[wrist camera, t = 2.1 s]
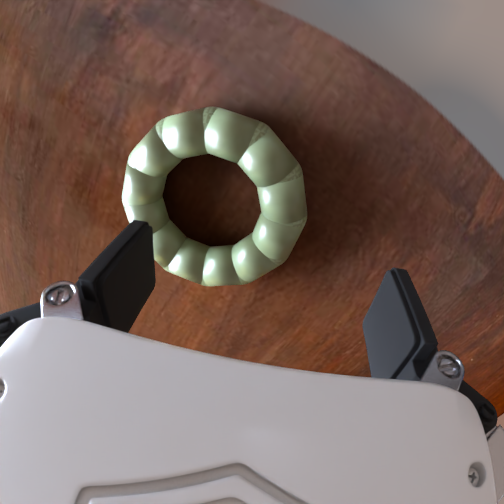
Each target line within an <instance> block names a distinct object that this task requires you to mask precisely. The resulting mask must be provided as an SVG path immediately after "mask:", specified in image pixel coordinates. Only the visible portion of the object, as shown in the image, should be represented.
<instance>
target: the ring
mask: <svg viewBox="0 0 504 504" xmlns="http://www.w3.org/2000/svg"><path fill="white" fill-rule="evenodd" d="M204 154H212V155H215V156H218V157H220V158H223V159H226V160H229V161H232V162H234V163H237V164H238V165H239V166H240V167H241V168H242V170H243V171H244V172H245V173H246V174H247V175H248V177H249V178H250V179H251V180H252V181H253V182H254V184H255V185H256V186H257V190H258V196H259V201H260V207H261V214H260V216H259V219H258V221H257V224H256V226H255V228H254V231H253V232H252V233H251V234H250V235H248V236H247V237H245V238H244V239H242V240H241V241H239V242H238V243H236V244H235V245H225V246H213V247H210V246H208V245H205V244H203V243H200V242H197V241H195V240H192V239H190V238H187V237H186V236H185V235H184V234H183V233H182V232H181V231H180V230H179V229H178V227H177V226H176V225H175V224H174V223H173V222H172V221H171V220H170V219H169V216H168V213H167V210H166V206H165V203H164V200H163V196H162V195H163V191H164V186H165V182H166V178H167V174H168V173H169V172H170V171H171V170H172V169H173V168H174V167H175V166H176V165H177V164H178V163H179V162H180V161H181V160H182V159H183V158H188V157H193V156H198V155H204ZM122 202H123V206H124V209H125V212H126V215H127V218H128V220H129V223H131V222H132V221H133V220H140V221H146V222H148V223H149V226H152V228H153V248H154V259H155V260H156V261H157V262H158V263H159V264H160V265H161V266H162V267H163V268H164V269H165V270H166V271H168V272H170V273H173V274H175V275H178V276H180V277H183V278H185V279H188V280H190V281H193V282H195V283H198V284H201V285H204V286H223V285H242V284H248V283H251V282H252V281H254V280H256V279H258V278H259V277H261V276H263V275H264V274H266V273H268V272H269V271H271V270H273V269H274V268H276V267H278V266H279V265H281V264H282V263H284V262H285V261H286V260H287V258H288V257H289V255H290V253H291V251H292V249H293V247H294V245H295V243H296V241H297V239H298V237H299V235H300V234H301V232H302V230H303V228H304V226H305V223H306V221H307V205H306V196H305V188H304V180H303V173H302V169H301V166H300V164H299V163H298V161H297V160H296V159H295V158H294V156H293V155H292V154H291V153H290V151H289V150H288V149H287V148H286V146H285V145H284V144H283V143H282V142H281V140H280V139H279V138H278V137H277V136H276V134H275V133H274V132H273V131H272V130H271V128H270V127H269V126H267V125H266V124H265V123H263V122H260V121H258V120H255V119H252V118H249V117H247V116H244V115H241V114H238V113H235V112H232V111H229V110H226V109H223V108H219V107H212V106H211V107H205V108H200V109H196V110H192V111H188V112H184V113H180V114H176V115H172V116H169V117H166V118H164V119H162V120H160V121H159V122H158V123H157V124H156V125H155V126H154V127H153V128H152V129H151V130H150V131H149V133H148V134H147V135H146V136H145V137H144V138H143V139H142V140H141V141H140V143H139V144H138V145H137V146H136V147H135V148H134V149H133V151H132V152H131V154H130V155H129V158H128V162H127V167H126V173H125V179H124V186H123V192H122Z"/></svg>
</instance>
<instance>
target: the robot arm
mask: <svg viewBox="0 0 504 504" xmlns="http://www.w3.org/2000/svg"><path fill="white" fill-rule="evenodd" d="M154 287H155V265H154V248H153V228H152V226H149V223H148V222H146V221H140V220H133V221H132V222H131V223H130V224H129V225H128V226H127V227H126V228H125V229H124V230H123V231H122V232H121V233H120V234H119V235H118V236H117V237H116V238H115V239H114V240H113V241H112V242H111V243H110V244H109V245H108V246H107V247H106V248H105V249H104V251H103V252H102V253H101V254H100V255H99V256H98V257H97V258H96V259H95V260H94V261H93V262H92V263H91V265H90V266H89V267H88V268H87V269H86V270H85V271H84V272H83V273H82V275H81V276H80V277H79V280H78V281H77V282H76V284H74V283H72V282H70V281H58V282H55V283H53V284H51V285H49V286H48V287H47V288H46V289H45V290H44V291H43V293H42V295H41V302H39V303H36V304H32V305H29V306H26V307H23V308H19V309H16V310H13V311H9V312H6V313H3V314H1V315H0V504H498V502H499V501H500V500H501V499H502V497H503V496H504V429H503V428H502V427H501V425H499V426H498V427H497V426H496V423H497V413H496V410H495V408H494V406H493V405H492V404H491V403H490V402H489V401H488V400H487V399H485V398H484V397H483V396H482V395H481V394H479V393H478V392H477V391H476V390H475V389H473V388H472V387H471V386H470V385H468V384H467V383H466V382H465V381H463V377H464V372H465V371H464V366H463V364H462V362H461V361H460V359H459V358H458V357H457V356H456V355H455V354H453V353H451V352H449V351H446V350H440V351H438V350H437V347H436V346H437V345H438V342H437V339H436V337H435V334H434V332H433V329H432V327H431V324H430V322H429V319H428V317H427V314H426V312H425V310H424V307H423V305H422V303H421V300H420V298H419V296H418V294H417V291H416V289H415V287H414V285H413V283H412V281H411V278H410V276H409V274H408V272H407V271H406V270H404V269H399V268H392V269H391V270H388V271H387V272H386V274H385V276H384V278H383V280H382V283H381V285H380V287H379V289H378V291H377V293H376V296H375V298H374V300H373V302H372V304H371V306H370V308H369V310H368V312H367V314H366V316H365V318H364V321H363V331H364V336H365V342H366V347H367V353H368V359H369V365H370V371H371V378H370V377H359V376H348V375H338V374H329V373H320V372H312V371H305V370H298V369H291V368H284V367H278V366H271V365H265V364H260V363H254V362H248V361H243V360H238V359H233V358H228V357H223V356H218V355H213V354H209V353H204V352H200V351H195V350H191V349H187V348H182V347H178V346H174V345H170V344H166V343H162V342H159V341H155V340H151V339H148V338H144V337H140V336H137V335H133V334H129V333H128V332H129V330H130V328H131V327H132V325H133V323H134V321H135V320H136V318H137V316H138V314H139V313H140V311H141V309H142V308H143V306H144V304H145V302H146V301H147V299H148V297H149V296H150V294H151V292H152V291H153V289H154Z"/></svg>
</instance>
